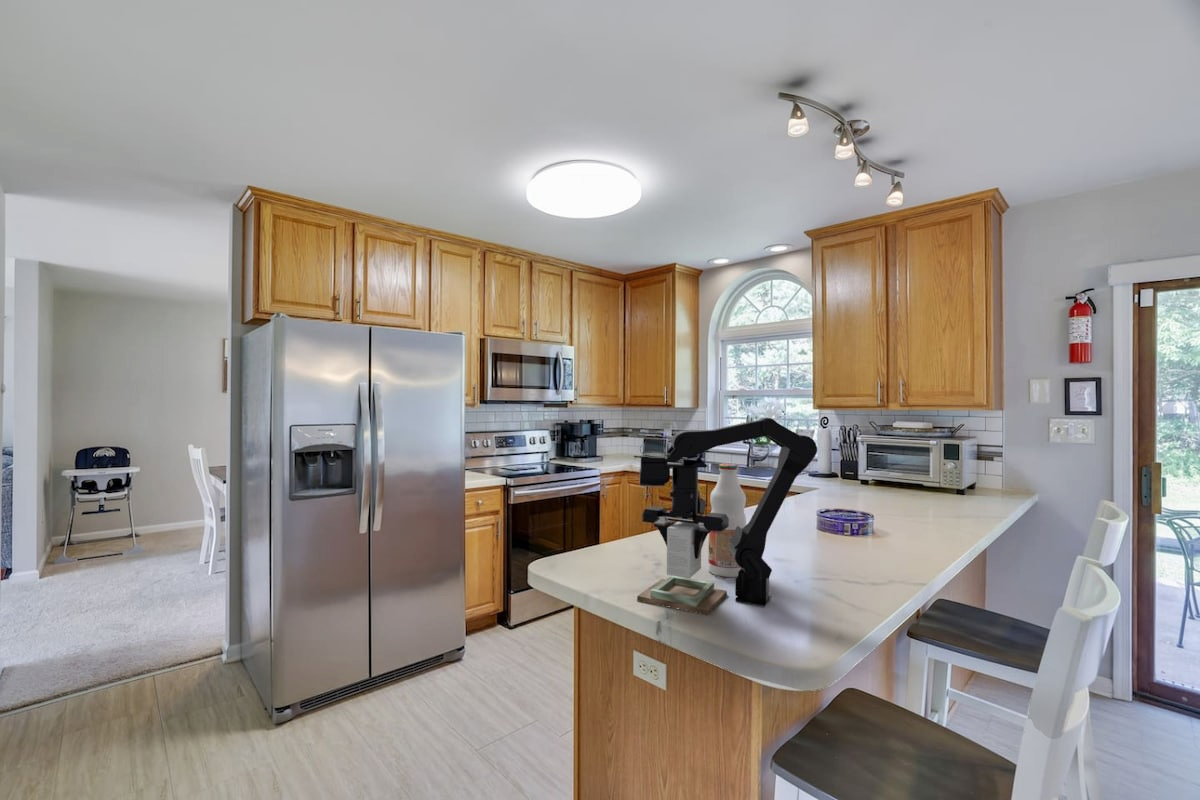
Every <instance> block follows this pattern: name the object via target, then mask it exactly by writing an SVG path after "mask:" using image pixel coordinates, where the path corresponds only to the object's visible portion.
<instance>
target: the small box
mask: <svg viewBox="0 0 1200 800" xmlns="http://www.w3.org/2000/svg"><path fill="white" fill-rule="evenodd" d="M698 528H699V524H696V523H687V522H679V521H676V522H675V523H674V524H673V525H671V526H670V527H668V528H667V546H666V575H667V576H678V577H683V578H689V579H692V577H693V576H694V575H695V574H696V573H697V572H699V571H700V570H701V568H702V551H701V552H700V555H699V557H698V558H697V559H695V530H696V529H698Z"/></svg>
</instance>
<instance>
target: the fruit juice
mask: <svg viewBox="0 0 1200 800" xmlns="http://www.w3.org/2000/svg"><path fill="white" fill-rule="evenodd" d="M718 470H719V476H718V479H717V482H716V484H715V487H714V488H713V489H712V491H711V492H710V495H709V496H710V497H709V500H710V501H709V502H710V505H711V511H710V513H720V514H726V515H727V516H728V518H729V527H727V528H726V529H724V530H723V531H712V532H710V533H708V559H707V560H708V563H707V564H708V571H709V572H710V573H711V575H716V576H718V577H723V578H724V577H725V578H736V577H737V576H738V571H739V570H740V569H741V567H740V566H739V565H738V564H737V562H736V561H735V560H734V558H733V557H732V555H731V553H730V544H731V543H730V541H729V540H730V539H731V538H732V537H733V535H734V533H735V529H736V527H737V526H739V527H740V528H742V529H743V528H744V527H745V526H746V525H747V517H746V513H745V507H746V505H747V504H746V503H747V496H746V493H745V491H744V490H743V489H742V487H741V485H740V482H739V478H738V472H739V465H738V464H734V463H720V464H718Z"/></svg>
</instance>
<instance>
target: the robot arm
mask: <svg viewBox="0 0 1200 800" xmlns="http://www.w3.org/2000/svg"><path fill="white" fill-rule="evenodd" d="M763 437H766V438H767V439H768V440H769V441H771V442H773V443H774V445H775V444H776V445H777V446H779V447H780V450H779V455H778V460H777V467H776V469H775V471H774V473H773V475H772V478H771V480H770V481H769V483H768V485H767V487H766V489H765V491H764V493H763V495H762V496H761V498H760V501H759V503H758V505H757V506H756V508H755V510H754V512H753V514H752V516H751V518H750V519H749V522H748V523H746V526H745V527H744V528H743V529H742V528H740V527H739V526H737V527H736V529H735V533H734V535H733V537H732V538H731V539H730V540H729V541H730V543H731V544H730V553H731V555H732V557H733V558H734V560H735V561H736V562H737V564H738V565H739V566H740V567H741V569H740V570H739V571H738V576H737V577H735V596H736V597H735V600H734V601H735V602H738V603H739V602H740V603H745V604H748V605H754V606H759V607H766V605H767V604H768V603H769V602H770V600H771V599H772V595H770V576H771V574H772V571H773V570H772V568H771V566H770V565H769V564H768V563H767V562H766V561H765V559H763V555H764V552H765V548H766V543H767V535H768V532H769V530H770V528H771V526H772V525H773V523H774V520H775V519H776V518H777V517H776V516H777V515H778V512H779V510H780V509H781V508H782V505H783V503H784V501H785V499H786V497H787V496H788V493H789V491H790V490H791V487H792V485H793V483H794V482H795V480H796V478H797V477H798V476H799V475H800V474H801V473H802V472H804V470H805V469H807V468H808V466H809V465H810V464H811V462H812V461H813V459H814V458H815V457H816V456H817V453H818V446H817V443H816V442H815V440H814V439H813V438H812V437H810V436H807V435H803V434H798V433H796V432H794V431H793V430H791V429H789V428H788V427H785V426H783V425H782V424H780V423H778V422H777V421H776V420H775V419H774V418H771V417H761V418H759V419H756V420H751V421H747V422H743V423H737V424H732V425H729V426H723V427H719V428H714V429H701V430H700V429H697V430H695V429H691V430H690V429H689V430H680V431H678V432H676V433H675V434H674V436H673V437H672V439H671V446H670V447H669V448H668V450H667V451H666V452H665V454H664V455H663V456H649V455H641V456H640V467H639V478H638V479H639V480H638V481H639V487H665V486H666V484H668V483H670V480H671V481H672V483H671V485H672V487H671V491H670V492H669V497H670V498H671V509H670V510H669V511H668V510H667V508H666V506H665V507H663V506H655V505H652V506H650V507H647V508H645V509H643V511H642V514H641V521H642V522H644V523H651V524H653V527H654V528H657V530H658V532H659V534H660V535H661V537H662V539H663V540H664V541H663V542H664V544H665V546H666V547H667V528H668V527H670V526H671V525H673V524H675V523H676V522H687V523H696V524H699V528H698V529H696V530H695V559H697V558H698V557H699V555H700V552H701V553H702V549H703V546H704V543H705V541H706V539H707V536H709V533H710V532H712V531H723V530H724V529H726V528H727V527H729V518H728V516H727V515H726V514H720V513H711V512H710V513H708V514H706V515H705V513H706V506H707V505H706V504H707V500H705V499H704V498H702V497H701V494H700V493H701V492H700V490H699V468H701V469H703V468H704V469H705V468H708V465H707V464H706V463H705V461H704V460H703V459H702V458H701V456H700V454H703V453H706V452H707V451H709V450H712V449H713V448H716V447H719V446H725V445H729V444H734V443H739V442H742V441H743V442H744V441H748V440H754V439H758V438H763ZM697 455H698V456H697ZM695 456H697V457H696V458H694V459H690V458H693V457H695ZM683 458H684V459H683ZM688 458H689V459H688ZM681 459H682V460H681ZM680 460H681V462H678V461H680ZM671 469H672V473H671ZM671 474H672V475H671ZM671 477H672V478H671Z"/></svg>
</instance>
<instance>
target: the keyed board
mask: <svg viewBox="0 0 1200 800" xmlns="http://www.w3.org/2000/svg"><path fill="white" fill-rule="evenodd" d="M727 596H728V590H724V589H718V588H715V582H712V581H711V582H710V581H704V580H699V579H693V578H684V577H678V576H672V575H669V577H667V578H661V579H659V580H658V581H657V582H654V584H652V585H651V586H649V587H648V588H647V589H645V590H644V591H642V592H641V593H639V594H638V595H637V597H636V599H637V600H640V601H639V602H642V601H645V602H644V603H647V602H649V603H648V604H652V603H654V604H653V605H656V604H659V605H658V606H661V605H664V606H663V607H666V606H670V607H669V608H671V607H674V608H673V609H675V608H679V609H678V610H680V609H683V610H682V611H685V610H687V611H686V612H690V611H692V612H691V613H694V612H697V613H696V614H699V613H701V614H700V615H704V614H706V616H708V615H709V614H710V613H711V612H713V610H714V609H716V607H717V606H718V605H719V604H720V603H721V602H722V601H723V599H725V598H726V597H727Z"/></svg>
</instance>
